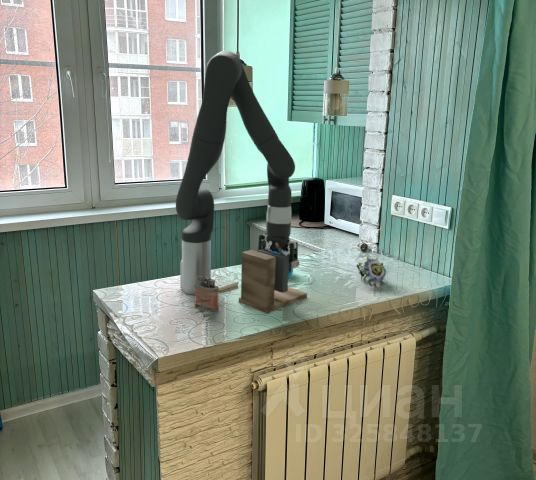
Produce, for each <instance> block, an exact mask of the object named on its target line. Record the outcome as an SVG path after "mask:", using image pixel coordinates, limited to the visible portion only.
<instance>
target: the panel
mask: <svg viewBox="0 0 536 480" xmlns="http://www.w3.org/2000/svg"><path fill="white" fill-rule="evenodd" d="M256 251H257V252H261V253H264V254H267V255H271V256H274V257H276V263H275V288H274V290H276V291H279V292H281V293H284V292H286V291H288V287H289V277H288V273H289V257H288V256H283V255H281V254H278V253H275V252H271V251H266V250H264V249H261V250H258V249H257V250H256Z"/></svg>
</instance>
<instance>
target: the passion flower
mask: <svg viewBox="0 0 536 480" xmlns="http://www.w3.org/2000/svg"><path fill="white" fill-rule="evenodd" d="M362 265H363V266H362ZM385 266H386V265H384V263H383V262H380V261H379V258H375V259H374V258H371V257H370V256H369V255H367V256H366V260H365V262H361V261H359V262H358V264H357V265H356V268H357V270H358V271H359V272H358V275H360V281H361V280H362V281H363V282H368V285H369V286H370V287H372V286H374V287H375V288H376V289H378V288H379V287H380V284H381V283H384V284H386V275H387V274H388V273H389V270H386V267H385Z"/></svg>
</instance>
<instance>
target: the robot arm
mask: <svg viewBox="0 0 536 480" xmlns="http://www.w3.org/2000/svg"><path fill="white" fill-rule="evenodd" d="M245 71H246V70H245V69H244V65H243V62H242V60H241V58H240V57H239V56H238V55H237V54H236V53H235V52H233V51H231V50H221V51H219V52H217V53H215V54H214V55H213V56H212V57H211V58H210V59H209V60H208V61H207V63H206V67H205V74H204V86H203V94H202V101H201V105H200V107H199V111H198V114H197V117H196V121H195V123H194V128H193V132H192V138H191V141H190V148H189V153H188V156H187V157H188V158H187V161H186V166H185V170H184V173H183V176H182V179H181V183H180V186H179V187H178V188H179V189H178V191H177V194H176V198H175V199H176V200H175V212H176V214H177V216H178V217H179V218H180V219H181V220H183V221H192V222H190V224H189V225H188V226H186V227H185V228H183V230H182V231H181V260H180V261H179V265H180V266H179V272H180V273H179V276H180V285H179V287H180V289H181V290H182V292H183V293H185V294H187V295H194V296H195V283H197V282H201V281H198V280H197V277H198V276H203V277H205V278H207V277H210V278H211V277H212V270H211V269H212V267H211V265H212V264H211V263H212V262H211V260H212V256H211V255H212V251H211V250H212V243H211V242H212V233H213V230H214V219H215V200H214V196H213V194H212V192H211V191H210V190H209V189H207V188H204V187H203V188H201V185H202V183H203V181H204V179H205V178H206V176H207V175H208V174H209V173H210V171H211V170H212V169H213V167H214V166H215V165H216V164H217V162H218V161H219V160H220V157H221V155H222V151H223V147H224V143H225V139H226V134H227V117H228V115H227V114H228V109H229V104H230V101H231V98H232V100H233V102H234V104H235V106H236V108H237V110H238V112H239V115H240V118H241V121H242V123H243V126H244V128H245V130H246V132H247V133H248V135H249V137H250V139H251V141H252V142H253V144H254V145H255V147H256V149H257V150H258V151H259V153H261V154H262V156H263V157H264V159H265V160H266V162H267V163H266V164H267V165H266V176H267V184H268V193H267V194H268V195H267V210H266V221H265V222H266V228H265V229H266V230H265V233H262V234H259V235H258V244H257V245H258V246H257V247H258V248H257V250H261V249H264V250H266V251H271V252H272V251H273V252H277V253H280V254H281V255H283V256H288V257H289V273H290V272H291V267H292V262H294V261H297V260H299V258H298V256H299V252H298V251H299V242H298V241H290V236H291V233H292V232H291V231H292V188H291V186H290V178H291V177H292V176H293V175H294V173H295V170H296V163H295V161H294V159H293V157H292V155H291V153H290V152H289V151H288V150H287V148H286V147H285V145H284V144H283V143H282V141H281V140H280V137H278V136H279V135H278V134H277V132H276V130H275V129H274V127H273V125H272V123H271V121H270V120H269V118H268V117H267V114H266V113H265V111H264V110H263V107H262V106H261V104H260V103H259V100H258V98H257V96H256V94H255V93H254V90H253V89H252V86H251V83H250V81H249V78H248V75H247V74H246V72H245ZM285 250H286V252H284V251H285ZM289 273H288V274H289ZM211 279H212V278H211Z"/></svg>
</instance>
